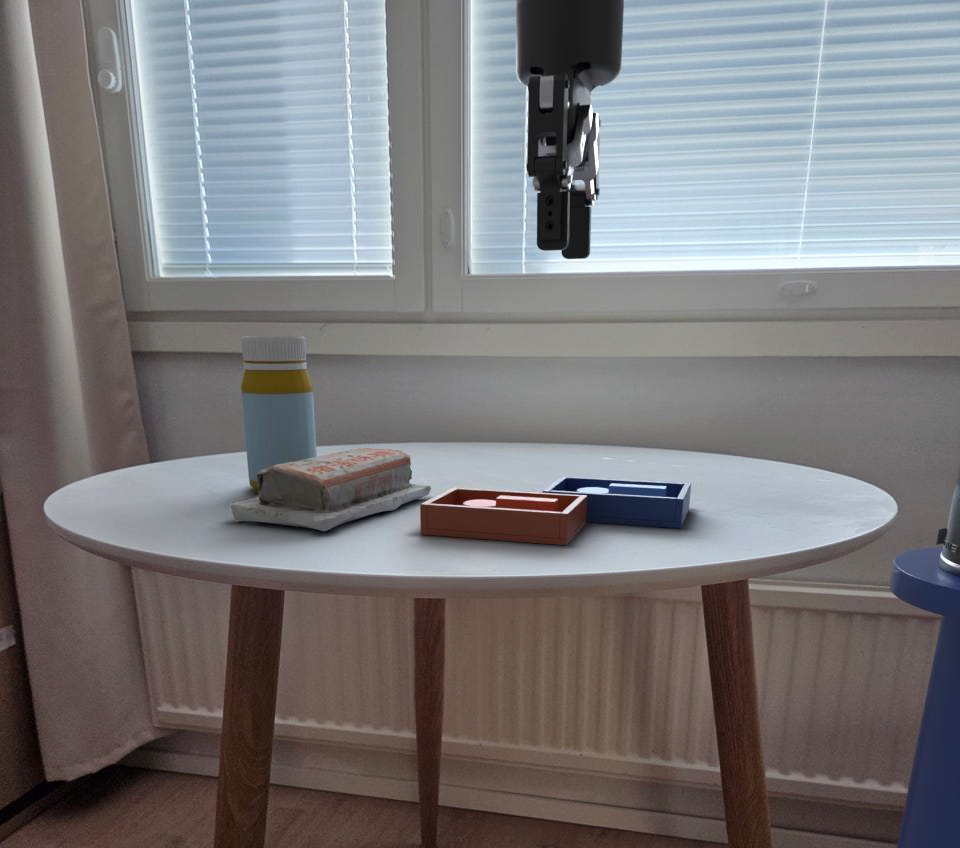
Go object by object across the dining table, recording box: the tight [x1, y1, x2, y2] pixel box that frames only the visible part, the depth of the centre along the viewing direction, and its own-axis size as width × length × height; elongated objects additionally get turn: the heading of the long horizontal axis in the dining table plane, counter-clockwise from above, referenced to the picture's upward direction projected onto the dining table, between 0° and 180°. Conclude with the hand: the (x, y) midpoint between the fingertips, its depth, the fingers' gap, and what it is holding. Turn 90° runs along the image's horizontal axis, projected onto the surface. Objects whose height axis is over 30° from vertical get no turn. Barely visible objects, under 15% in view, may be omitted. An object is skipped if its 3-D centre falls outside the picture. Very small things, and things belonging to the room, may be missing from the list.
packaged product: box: [229, 447, 432, 532], centre depth 80 cm, size 18×5×10 cm
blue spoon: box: [577, 483, 667, 497], centre depth 79 cm, size 8×3×2 cm, turn 73°
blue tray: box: [541, 476, 692, 529], centre depth 79 cm, size 12×8×2 cm
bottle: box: [240, 335, 318, 493], centre depth 88 cm, size 7×7×15 cm
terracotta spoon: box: [463, 495, 558, 512], centre depth 73 cm, size 8×3×2 cm, turn 73°
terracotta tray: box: [419, 487, 587, 546], centre depth 73 cm, size 12×8×2 cm
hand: (564, 254), depth 66 cm, fingers open, 8 cm apart
